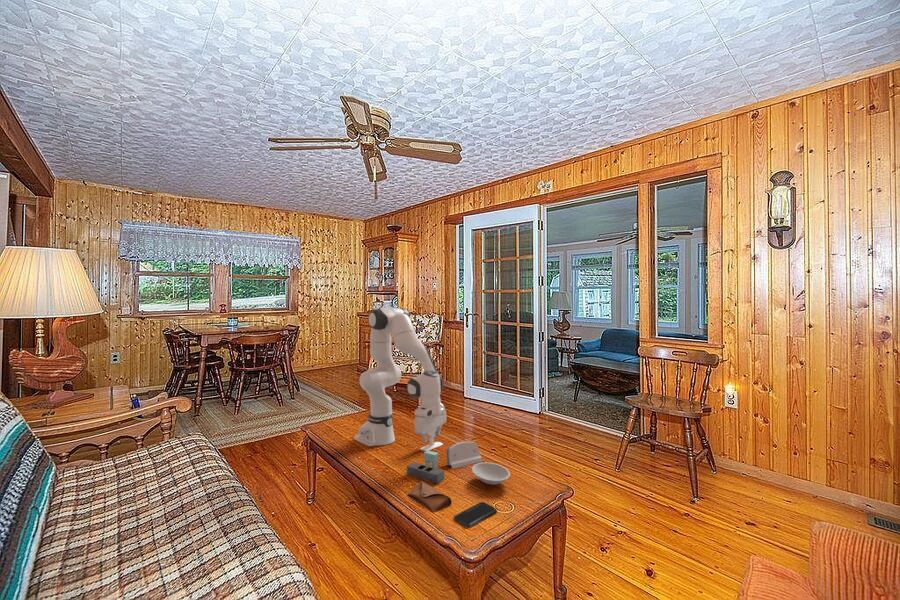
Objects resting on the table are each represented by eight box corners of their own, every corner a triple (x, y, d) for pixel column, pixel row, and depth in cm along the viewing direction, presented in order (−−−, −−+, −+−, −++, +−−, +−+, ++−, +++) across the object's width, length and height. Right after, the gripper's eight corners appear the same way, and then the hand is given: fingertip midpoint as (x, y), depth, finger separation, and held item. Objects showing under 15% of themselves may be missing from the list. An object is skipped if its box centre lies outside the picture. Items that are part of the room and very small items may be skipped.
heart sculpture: (438, 440, 210) (438, 406, 209) (445, 443, 206) (445, 408, 206) (417, 449, 198) (417, 413, 198) (424, 452, 195) (424, 415, 195)
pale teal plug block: (424, 465, 180) (424, 452, 180) (427, 463, 182) (427, 450, 182) (434, 468, 177) (434, 455, 176) (438, 466, 179) (438, 453, 179)
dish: (518, 487, 160) (518, 474, 160) (490, 497, 152) (490, 484, 152) (491, 470, 175) (491, 459, 174) (464, 479, 167) (464, 467, 167)
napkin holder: (451, 469, 176) (447, 445, 179) (446, 468, 180) (443, 445, 183) (483, 461, 184) (479, 438, 187) (478, 461, 188) (474, 439, 191)
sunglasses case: (404, 494, 154) (411, 476, 156) (416, 497, 158) (423, 480, 161) (434, 513, 141) (441, 494, 143) (447, 516, 145) (454, 497, 147)
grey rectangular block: (407, 474, 171) (407, 466, 171) (413, 470, 175) (413, 462, 175) (437, 483, 162) (437, 475, 162) (444, 479, 166) (444, 470, 166)
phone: (498, 509, 142) (468, 526, 132) (498, 513, 142) (468, 529, 132) (482, 501, 148) (452, 516, 138) (482, 504, 148) (452, 519, 138)
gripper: (438, 401, 189) (438, 430, 189) (411, 412, 172) (412, 444, 172) (449, 403, 186) (450, 432, 186) (423, 414, 169) (424, 447, 169)
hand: (431, 438), depth 179 cm, fingers open, 8 cm apart
